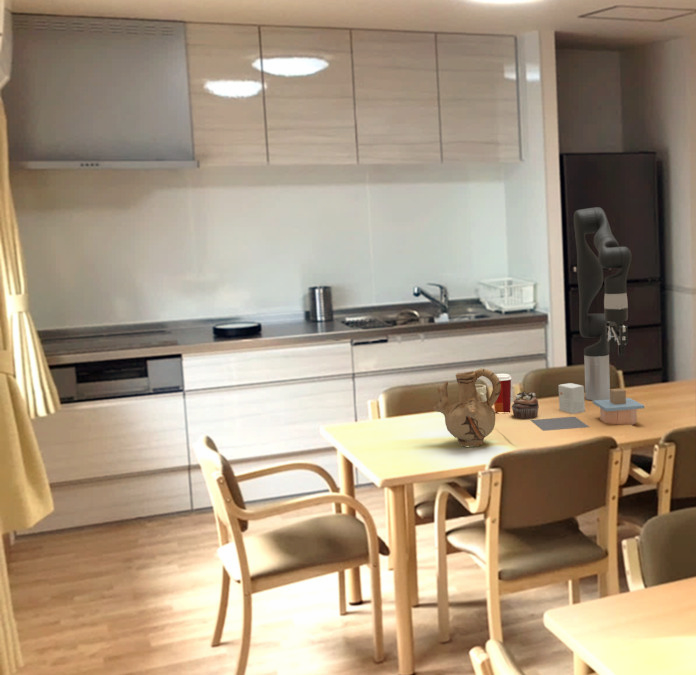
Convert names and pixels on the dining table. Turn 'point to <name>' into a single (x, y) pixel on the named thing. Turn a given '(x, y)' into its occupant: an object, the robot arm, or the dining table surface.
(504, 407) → the paper cup
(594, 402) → the lid
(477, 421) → the ceramic vessel
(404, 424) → the dining table surface
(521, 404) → the cupcake
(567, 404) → the small box
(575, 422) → the mat
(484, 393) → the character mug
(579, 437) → the dining table surface
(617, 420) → the bowl
